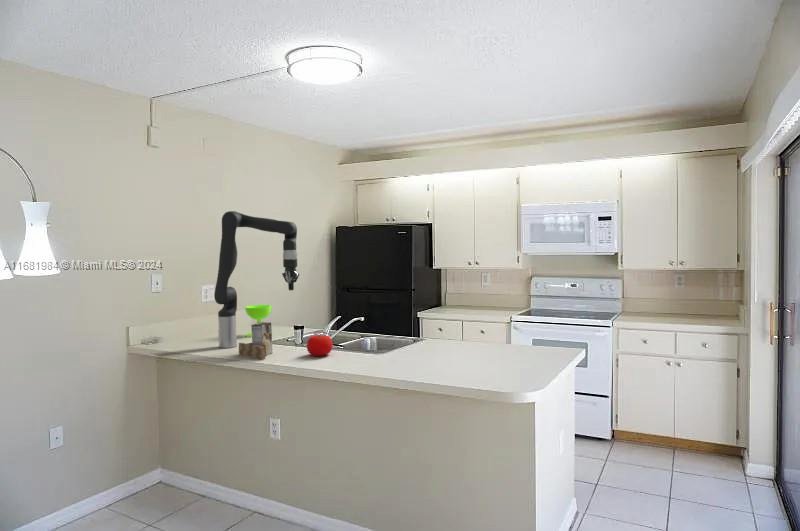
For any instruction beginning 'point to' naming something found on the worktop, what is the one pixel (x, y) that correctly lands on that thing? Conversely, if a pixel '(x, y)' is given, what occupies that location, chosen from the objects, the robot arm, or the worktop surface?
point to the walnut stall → (252, 350)
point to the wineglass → (258, 313)
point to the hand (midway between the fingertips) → (291, 290)
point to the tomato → (319, 345)
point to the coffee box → (262, 335)
